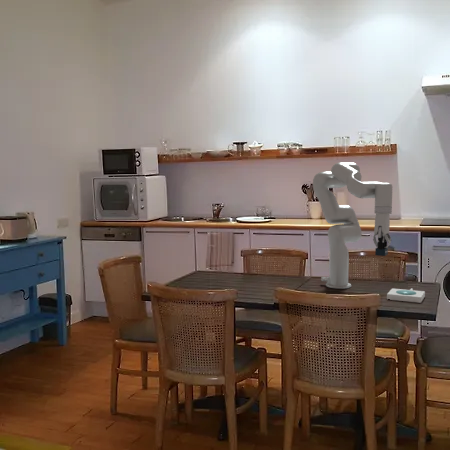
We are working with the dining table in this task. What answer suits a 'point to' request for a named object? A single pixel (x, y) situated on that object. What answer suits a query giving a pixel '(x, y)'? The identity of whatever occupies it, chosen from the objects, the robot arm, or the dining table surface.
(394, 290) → the charging dock
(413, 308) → the dining table surface
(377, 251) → the watch
